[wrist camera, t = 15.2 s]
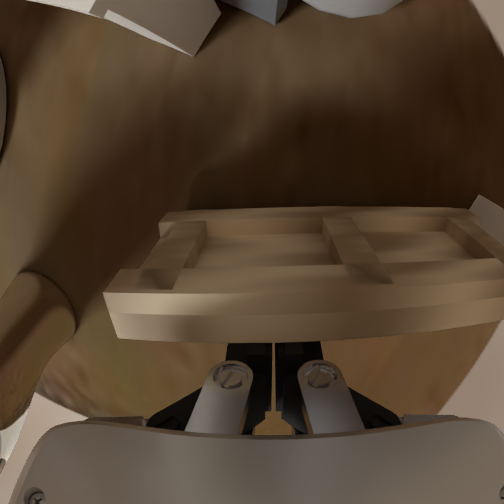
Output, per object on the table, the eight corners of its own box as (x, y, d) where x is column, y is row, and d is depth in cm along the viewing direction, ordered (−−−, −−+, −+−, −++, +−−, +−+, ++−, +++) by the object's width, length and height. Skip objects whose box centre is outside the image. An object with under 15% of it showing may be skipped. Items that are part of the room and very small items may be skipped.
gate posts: (142, 41, 12) (2, -5, 3) (188, -30, 10) (103, -139, 2) (477, 254, 16) (570, 356, 7) (513, 200, 14) (623, 276, 6)
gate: (463, 206, 14) (551, 273, 8) (458, 236, 15) (536, 312, 8) (168, 210, 15) (102, 292, 8) (173, 242, 16) (118, 338, 9)
